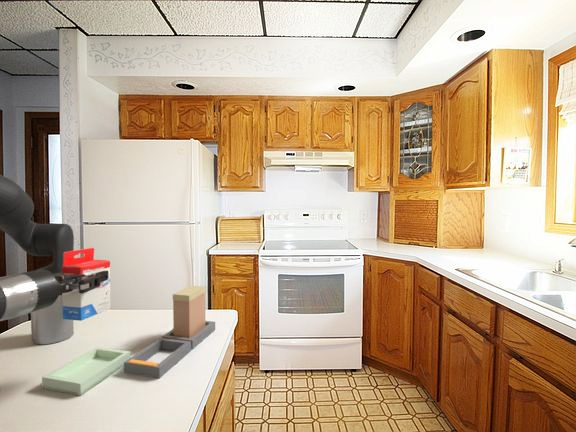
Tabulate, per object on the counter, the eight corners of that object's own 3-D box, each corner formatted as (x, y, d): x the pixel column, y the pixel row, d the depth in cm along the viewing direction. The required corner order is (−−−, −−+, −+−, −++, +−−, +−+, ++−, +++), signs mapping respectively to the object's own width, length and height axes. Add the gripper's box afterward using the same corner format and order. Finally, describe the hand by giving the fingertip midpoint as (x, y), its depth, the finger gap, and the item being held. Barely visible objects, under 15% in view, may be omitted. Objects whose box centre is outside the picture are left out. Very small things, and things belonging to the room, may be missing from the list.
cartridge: (173, 343, 87) (172, 294, 86) (190, 330, 96) (190, 285, 95) (189, 345, 86) (189, 295, 85) (205, 331, 95) (205, 286, 94)
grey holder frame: (124, 372, 72) (124, 361, 72) (188, 326, 99) (188, 317, 98) (159, 378, 70) (159, 366, 70) (215, 329, 96) (215, 320, 96)
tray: (42, 388, 66) (42, 377, 66) (97, 356, 79) (96, 346, 79) (80, 395, 63) (80, 383, 63) (130, 361, 77) (130, 351, 77)
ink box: (81, 321, 66) (80, 253, 65) (61, 319, 67) (60, 252, 66) (111, 308, 74) (110, 247, 74) (93, 307, 75) (93, 247, 75)
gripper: (50, 276, 55) (123, 259, 71) (-11, 271, 58) (72, 256, 74) (51, 318, 55) (123, 292, 71) (-10, 311, 58) (73, 287, 75)
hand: (97, 274), depth 73 cm, fingers closed on ink box, 5 cm apart
